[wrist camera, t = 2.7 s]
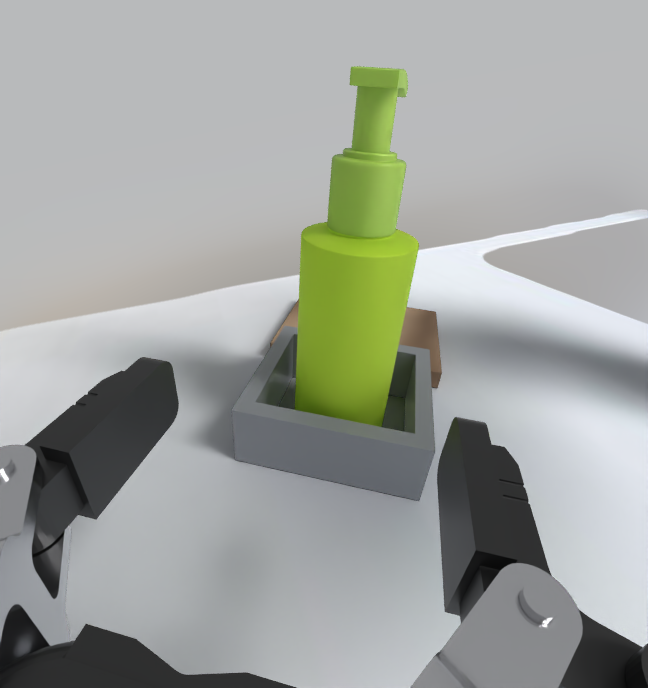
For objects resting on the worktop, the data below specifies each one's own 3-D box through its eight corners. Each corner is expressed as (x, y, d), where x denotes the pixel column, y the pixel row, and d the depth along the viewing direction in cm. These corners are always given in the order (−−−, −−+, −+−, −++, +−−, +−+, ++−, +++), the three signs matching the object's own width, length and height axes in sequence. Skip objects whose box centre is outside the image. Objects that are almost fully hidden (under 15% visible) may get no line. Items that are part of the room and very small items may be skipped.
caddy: (418, 392, 30) (429, 349, 28) (418, 501, 21) (435, 451, 19) (283, 367, 31) (284, 325, 29) (235, 459, 23) (231, 410, 21)
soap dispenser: (386, 400, 29) (451, 79, 18) (373, 471, 23) (458, 61, 12) (312, 384, 30) (332, 71, 19) (281, 447, 24) (287, 52, 13)
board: (432, 324, 40) (435, 311, 39) (437, 388, 30) (441, 373, 30) (302, 304, 42) (303, 291, 41) (270, 358, 32) (270, 343, 32)
